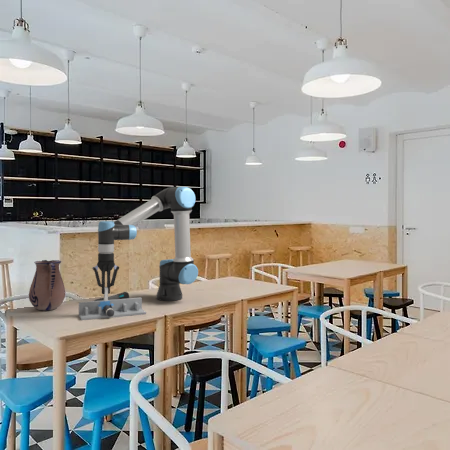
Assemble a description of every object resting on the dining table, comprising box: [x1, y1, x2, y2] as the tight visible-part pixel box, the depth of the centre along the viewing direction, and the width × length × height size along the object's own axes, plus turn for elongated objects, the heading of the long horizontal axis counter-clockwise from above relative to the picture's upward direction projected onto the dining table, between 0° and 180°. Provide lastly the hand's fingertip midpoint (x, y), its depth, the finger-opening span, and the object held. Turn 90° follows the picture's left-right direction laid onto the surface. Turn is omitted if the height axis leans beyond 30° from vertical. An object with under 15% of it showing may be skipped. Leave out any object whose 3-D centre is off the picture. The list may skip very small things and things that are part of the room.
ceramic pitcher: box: [28, 259, 66, 312], centre depth 230 cm, size 18×21×25 cm
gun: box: [93, 291, 130, 301], centre depth 239 cm, size 4×20×10 cm, turn 116°
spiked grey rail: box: [78, 297, 147, 321], centre depth 220 cm, size 31×10×6 cm, turn 115°
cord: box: [103, 305, 114, 318], centre depth 217 cm, size 10×4×4 cm, turn 25°
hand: (105, 300), depth 219 cm, fingers closed
